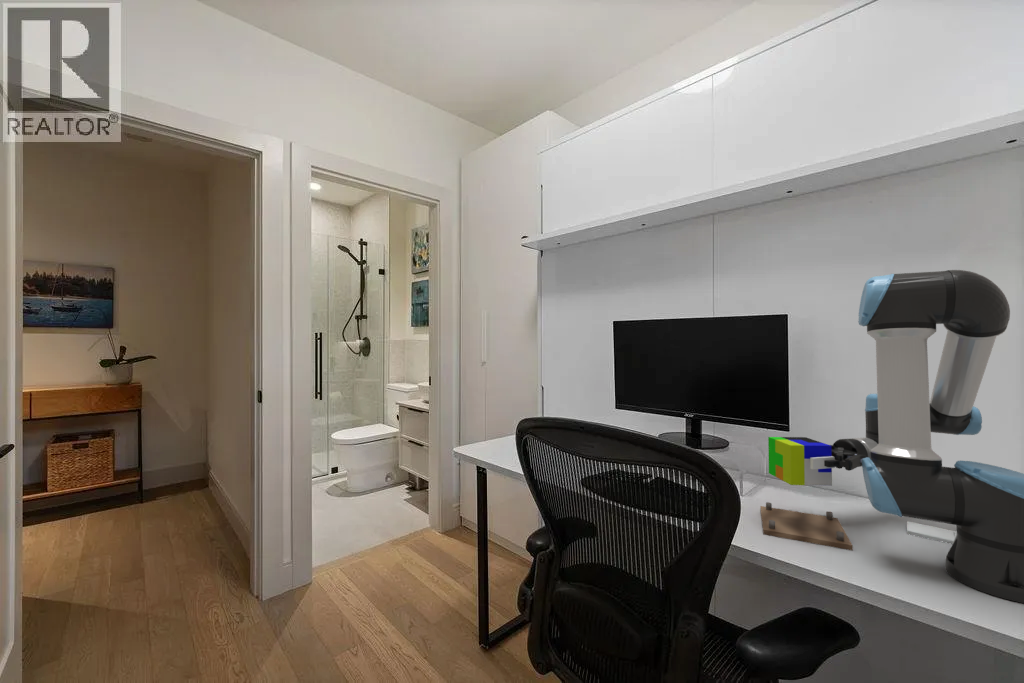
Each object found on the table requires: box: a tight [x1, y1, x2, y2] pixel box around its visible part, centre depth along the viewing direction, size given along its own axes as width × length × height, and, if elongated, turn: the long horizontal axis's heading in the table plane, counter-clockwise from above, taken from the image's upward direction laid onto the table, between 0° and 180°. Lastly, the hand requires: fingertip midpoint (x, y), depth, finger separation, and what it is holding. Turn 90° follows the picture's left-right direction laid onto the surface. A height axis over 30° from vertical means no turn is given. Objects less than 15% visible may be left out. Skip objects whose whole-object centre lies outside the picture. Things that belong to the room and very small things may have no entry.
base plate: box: [760, 501, 854, 551], centre depth 110 cm, size 18×18×3 cm
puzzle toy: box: [767, 436, 833, 486], centre depth 111 cm, size 10×10×10 cm
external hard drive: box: [906, 520, 957, 545], centre depth 106 cm, size 2×8×12 cm
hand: (789, 456), depth 110 cm, fingers closed on puzzle toy, 12 cm apart
